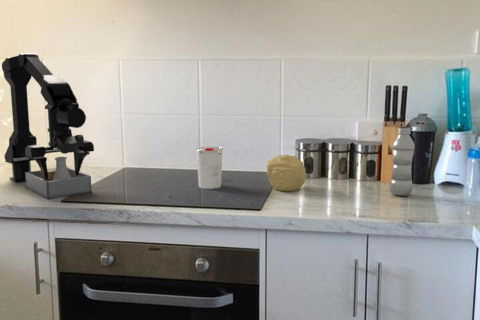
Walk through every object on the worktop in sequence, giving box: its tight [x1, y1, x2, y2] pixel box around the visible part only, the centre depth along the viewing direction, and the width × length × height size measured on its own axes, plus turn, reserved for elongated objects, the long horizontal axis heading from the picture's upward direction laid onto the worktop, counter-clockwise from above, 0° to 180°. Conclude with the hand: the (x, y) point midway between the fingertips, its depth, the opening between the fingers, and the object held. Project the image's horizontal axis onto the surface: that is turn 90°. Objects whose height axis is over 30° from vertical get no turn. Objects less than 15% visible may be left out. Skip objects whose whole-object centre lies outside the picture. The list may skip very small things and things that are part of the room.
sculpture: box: [266, 154, 307, 192], centre depth 162 cm, size 12×12×11 cm
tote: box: [25, 166, 93, 200], centre depth 161 cm, size 18×13×5 cm
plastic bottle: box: [389, 126, 415, 197], centre depth 153 cm, size 6×7×20 cm
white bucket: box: [195, 146, 224, 190], centre depth 165 cm, size 10×8×12 cm
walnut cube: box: [41, 167, 56, 181], centre depth 164 cm, size 5×5×5 cm
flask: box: [53, 156, 71, 181], centre depth 158 cm, size 7×7×10 cm
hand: (62, 177), depth 158 cm, fingers open, 9 cm apart
